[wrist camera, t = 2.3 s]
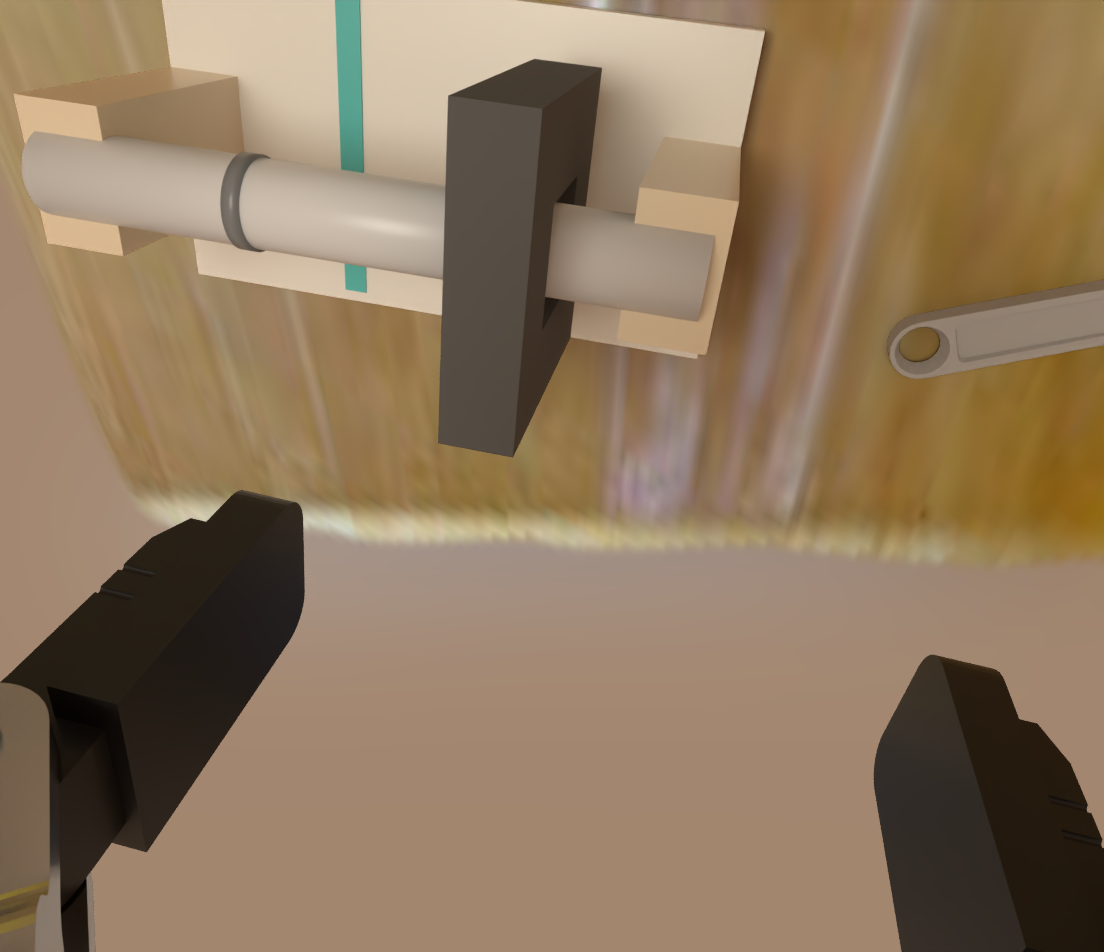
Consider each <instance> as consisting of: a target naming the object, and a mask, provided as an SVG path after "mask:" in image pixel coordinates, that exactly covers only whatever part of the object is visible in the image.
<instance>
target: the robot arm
mask: <svg viewBox="0 0 1104 952" xmlns="http://www.w3.org/2000/svg"><path fill="white" fill-rule="evenodd" d="M304 592H305V590H304V542H303V514H302V509H301V507H300V505H299V504H298V503H296V502H291V501H287V500H283V499H279V498H274V497H270V496H266V495H262V494H257V493H253V492H249V491H244V490H241V491H238V492H236V493H234V494H233V495H232V496H231V497H230V498H229V499H228V500H227V501H226V502H225V503H224V504H223V505H222V506H221V507H220V508H219V509H218V510H217V511H216V512H215V513H214V514H213V515H212V516H211V518H210V519H209V520H208V521H207V522H204V521H200V520H196V519H192V518H190V519H188V520H186V521H184V522H182V523H180V524H178V525H176V526H174V527H172V528H170V529H168V530H166V531H164V532H162V533H160V534H158V535H156V536H154V537H152V538H151V539H150V540H149V541H148V542H147V543H146V544H145V545H144V546H143V547H142V548H141V549H139V550H138V551H137V552H136V553H135V554H134V555H133V556H132V557H131V558H130V559H129V560H128V561H127V562H126V563H125V564H124V568H123V570H117V572H115V573H114V574H113V575H112V576H111V578H109V579H108V580H107V581H106V582H105V583H104V584H103V585H102V586H101V589H100V592H99V593H96V592H95V593H94V594H92V595H91V596H90V597H89V598H88V599H87V600H86V601H85V602H84V603H83V604H82V605H81V606H80V607H79V608H78V609H77V610H76V611H75V612H74V613H73V614H72V615H70V616H69V618H68V619H66V620H65V621H64V622H63V623H62V624H61V625H60V626H59V627H58V628H57V629H56V630H55V631H54V632H53V633H52V634H51V635H50V636H49V637H48V638H46V640H44V642H42V643H41V644H40V645H39V646H38V647H37V648H36V649H35V650H34V651H33V652H32V653H31V654H30V655H29V656H28V657H27V658H26V659H25V660H24V661H22V662H21V663H20V664H19V665H18V666H17V667H16V668H15V669H14V670H13V671H12V672H11V673H10V674H9V675H8V676H7V677H6V678H5V679H3V680H2V681H1V682H0V952H96V946H95V923H94V901H93V881H92V875H91V871H92V869H93V868H94V866H95V865H96V864H97V862H98V861H99V859H100V858H101V857H102V855H103V854H104V853H105V851H106V850H107V848H108V847H109V846H110V844H111V843H115V844H119V845H122V846H126V847H129V848H133V849H137V850H140V851H144V852H147V851H148V850H149V848H150V847H151V845H152V844H153V842H154V841H155V839H156V838H157V836H158V835H159V833H160V832H161V830H162V829H163V827H164V826H165V824H166V823H167V821H168V820H169V818H170V817H171V816H172V814H173V813H174V811H175V810H176V808H177V807H178V805H179V804H180V802H181V801H182V799H183V798H184V796H185V795H186V793H187V792H188V790H189V789H190V787H191V786H192V784H193V783H194V781H195V780H196V778H197V777H198V776H199V774H200V773H201V771H202V770H203V768H204V767H205V765H206V764H207V762H208V761H209V759H210V758H211V756H212V755H213V753H214V752H215V750H216V749H217V747H218V746H219V744H220V743H221V741H222V740H223V739H224V737H225V735H226V734H227V732H228V731H229V730H230V728H231V727H232V725H233V724H234V722H235V721H236V719H237V717H238V716H239V715H240V713H241V712H242V710H243V709H244V707H245V706H246V704H247V703H248V701H249V700H250V699H251V697H252V695H253V694H254V692H255V691H256V690H257V688H258V686H259V685H260V684H261V682H262V681H263V679H264V677H265V676H266V675H267V673H268V672H269V670H270V669H271V667H272V666H273V664H274V663H275V662H276V660H277V659H278V657H279V655H280V654H281V652H282V651H283V649H284V648H285V647H286V645H287V644H288V642H289V641H290V639H291V637H292V635H293V633H294V632H295V629H296V627H297V625H298V622H299V619H300V616H301V612H302V608H303V603H304ZM874 789H875V795H876V801H877V807H878V813H879V819H880V825H881V830H882V837H883V842H884V848H885V855H886V861H887V867H888V872H889V879H890V885H891V891H892V897H893V903H894V908H895V914H896V921H897V927H898V932H899V939H900V944H901V950H902V952H1104V848H1102V846H1101V842H1102V837H1101V835H1100V833H1099V830H1098V828H1097V826H1096V823H1095V821H1094V818H1093V816H1092V814H1091V813H1088V812H1087V806H1088V804H1087V802H1086V799H1085V797H1084V795H1083V792H1082V790H1081V788H1080V785H1079V783H1078V780H1077V778H1076V776H1075V773H1074V771H1073V769H1072V766H1071V764H1070V762H1069V761H1068V760H1067V759H1066V758H1065V756H1064V755H1063V754H1062V753H1061V752H1060V751H1059V749H1058V748H1057V747H1056V746H1055V744H1054V743H1053V742H1052V741H1051V740H1050V739H1049V737H1048V736H1047V735H1046V734H1045V732H1044V731H1043V730H1042V729H1041V728H1040V726H1039V725H1038V724H1037V723H1032V722H1028V721H1024V720H1020V719H1019V718H1018V715H1017V712H1016V710H1015V707H1014V704H1013V702H1012V699H1011V696H1010V694H1009V691H1008V689H1007V686H1006V683H1005V681H1004V679H1003V677H1002V675H1001V674H1000V672H998V671H997V670H995V669H992V668H988V667H983V666H979V665H975V664H971V663H966V662H962V661H958V660H954V659H949V658H945V657H940V656H937V655H929V656H927V657H926V658H925V659H924V660H923V661H922V663H921V664H920V665H919V667H918V669H917V671H916V673H915V675H914V677H913V679H912V680H911V682H910V684H909V686H908V688H907V690H906V692H905V694H904V695H903V697H902V699H901V701H900V703H899V705H898V707H897V709H896V711H895V712H894V714H893V716H892V718H891V720H890V722H889V724H888V726H887V728H886V730H885V731H884V733H883V735H882V737H881V740H880V743H879V745H878V749H877V753H876V758H875V765H874Z"/></svg>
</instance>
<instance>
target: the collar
mask: <svg viewBox="0 0 1104 952" xmlns="http://www.w3.org/2000/svg"><path fill="white" fill-rule="evenodd" d="M601 73H602V68H601V67H593V66H586V65H578V64H571V63H563V62H556V61H548V60H540V59H533V60H530V61H528V62H526V63H523V64H521V65H519V66H516V67H514V68H512V69H509V70H507V71H505V72H502V73H500V74H497V75H495V76H493V77H490V78H488V79H486V80H483V81H481V82H479V83H476V84H474V85H472V86H469V87H467V88H465V89H462V90H460V91H458V92H455V93H453V94H451V95H448V113H447V149H446V184H445V219H444V255H443V290H442V326H441V361H440V396H439V432H438V443H440V444H445V445H450V446H455V447H461V448H466V449H471V450H477V451H482V452H487V453H492V454H498V455H503V456H508V457H513V456H514V454H515V452H516V450H517V448H518V446H519V444H520V441H521V439H522V437H523V435H524V433H525V431H526V429H527V427H528V425H529V423H530V421H531V418H532V416H533V414H534V412H535V410H536V408H537V406H538V404H539V402H540V400H541V398H542V395H543V393H544V391H545V389H546V387H547V385H548V383H549V381H550V379H551V377H552V375H553V372H554V370H555V368H556V366H557V364H558V362H559V360H560V358H561V356H562V354H563V352H564V349H565V347H566V345H567V343H568V341H569V339H570V337H571V328H572V320H573V311H574V303H575V302H573V301H567V300H561V299H555V298H549V297H545V293H546V283H547V273H548V262H549V252H550V242H551V232H552V221H553V211H554V204H555V203H556V202H558V203H564V204H571V205H577V206H584V207H586V201H587V192H588V184H589V175H590V167H591V158H592V150H593V141H594V133H595V124H596V116H597V107H598V99H599V90H600V82H601Z"/></svg>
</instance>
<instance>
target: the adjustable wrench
mask: <svg viewBox="0 0 1104 952" xmlns="http://www.w3.org/2000/svg"><path fill="white" fill-rule="evenodd" d="M919 327H927V328H931V329H932V330H934V331H935V332H936V333H937V334H938V335H939V338H940V347H939V349H938V351H937V353H936V354H935V355H934V356H932V357H931V358H929V359H928V360H925V361H922V362H911V361H908V360H906V359H905V358H904V357H903V356H902V355H901V353H900V350H899V343H900V341H901V338H902V337H903V336H904V335H905V334H906V333H907V332H909V331H910V330H913V329H916V328H919ZM1101 345H1104V280H1098V281H1093V282H1088V283H1082V284H1077V285H1071V286H1066V287H1061V288H1055V289H1050V290H1045V291H1039V292H1034V293H1028V294H1023V295H1018V296H1012V297H1007V298H1001V299H996V300H991V301H985V302H980V303H974V304H969V305H964V306H958V307H953V308H948V309H942V310H937V311H931V312H926V313H921V314H915V315H912V316H910V317H907V318H905V319H903V320H902V321H900V322H899V323H897V324H896V326H895V327H894V328H893V329H892V330H891V332H890V334H889V337H888V339H887V351H888V354H889V357H890V360H891V363H892V365H893V367H894V368H895V369H896V370H897V372H899V373H900V374H902V375H904V376H905V377H909V378H914V379H921V378H930V377H935V376H940V375H946V374H951V373H956V372H962V371H967V370H972V369H978V368H983V367H988V366H994V365H999V364H1005V363H1010V362H1015V361H1021V360H1026V359H1031V358H1037V357H1042V356H1047V355H1053V354H1058V353H1063V352H1069V351H1074V350H1080V349H1085V348H1090V347H1096V346H1101Z"/></svg>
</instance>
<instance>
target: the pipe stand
mask: <svg viewBox="0 0 1104 952" xmlns="http://www.w3.org/2000/svg"><path fill="white" fill-rule="evenodd" d="M162 4H163V11H164V19H165V26H166V34H167V41H168V49H169V56H170V64H171V67H167V68H161V69H156V70H150V71H144V72H138V73H132V74H126V75H121V76H115V77H109V78H103V79H97V80H92V81H86V82H80V83H74V84H68V85H63V86H57V87H51V88H45V89H39V90H33V91H28V92H22V93H16V94H14V98H15V103H16V107H17V111H18V116H19V120H20V124H21V129H22V133H23V137H24V142H25V147H24V151H23V155H22V175H23V180H24V184H25V187H26V190H27V192H28V194H29V196H30V198H31V199H32V201H33V202H34V203H35V204H36V206H37V207H39V208H40V211H41V216H42V220H43V225H44V229H45V233H46V238H47V242H48V243H50V244H56V245H61V246H67V247H73V248H79V249H85V250H91V251H97V252H102V253H108V254H114V255H120V256H125V255H127V254H129V253H131V252H133V251H135V250H138V249H140V248H142V247H144V246H146V245H148V244H151V243H153V242H155V241H157V240H159V239H161V238H164V237H166V236H168V235H176V236H182V237H188V238H194V243H195V250H196V258H197V265H198V273H199V274H204V275H209V276H215V277H221V278H227V279H233V280H239V281H245V282H250V283H256V284H262V285H268V286H274V287H280V288H285V289H291V290H297V291H303V292H309V293H315V294H320V295H326V296H332V297H338V298H344V299H350V300H355V301H361V302H367V303H373V304H379V305H385V306H390V307H396V308H402V309H408V310H414V311H420V312H426V313H431V314H437V315H442V290H443V255H444V219H445V184H446V149H447V113H448V95H451V94H453V93H455V92H458V91H460V90H462V89H465V88H467V87H469V86H472V85H474V84H476V83H479V82H481V81H483V80H486V79H488V78H490V77H493V76H495V75H497V74H500V73H502V72H505V71H507V70H509V69H512V68H514V67H516V66H519V65H521V64H523V63H526V62H528V61H530V60H533V59H540V60H548V61H556V62H563V63H571V64H578V65H586V66H593V67H601V68H602V73H601V82H600V90H599V99H598V107H597V116H596V124H595V133H594V141H593V150H592V158H591V167H590V175H589V184H588V192H587V201H586V207H584V206H577V205H571V204H564V203H558V202H556V203H555V204H554V211H553V221H552V232H551V242H550V252H549V262H548V273H547V283H546V293H545V297H549V298H555V299H561V300H567V301H573V302H575V303H574V311H573V320H572V328H571V338H577V339H583V340H589V341H595V342H601V343H607V344H612V345H618V346H624V347H630V348H636V349H642V350H647V351H653V352H659V353H665V354H671V355H677V356H682V357H688V358H694V359H697V356H698V354H701V355H706V354H707V349H708V344H709V340H710V335H711V330H712V326H713V321H714V316H715V312H716V307H717V302H718V298H719V293H720V288H721V284H722V279H723V274H724V270H725V265H726V260H727V256H728V251H729V246H730V242H731V237H732V232H733V228H734V223H735V218H736V214H737V209H738V204H739V189H740V160H741V145H742V140H743V135H744V130H745V125H746V121H747V116H748V111H749V106H750V101H751V97H752V92H753V87H754V82H755V77H756V73H757V68H758V63H759V58H760V53H761V49H762V44H763V39H764V34H765V29H761V28H753V27H745V26H737V25H729V24H721V23H712V22H704V21H696V20H688V19H680V18H672V17H664V16H656V15H648V14H640V13H632V12H624V11H616V10H608V9H600V8H592V7H584V6H576V5H568V4H560V3H552V2H544V1H536V0H162Z"/></svg>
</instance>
